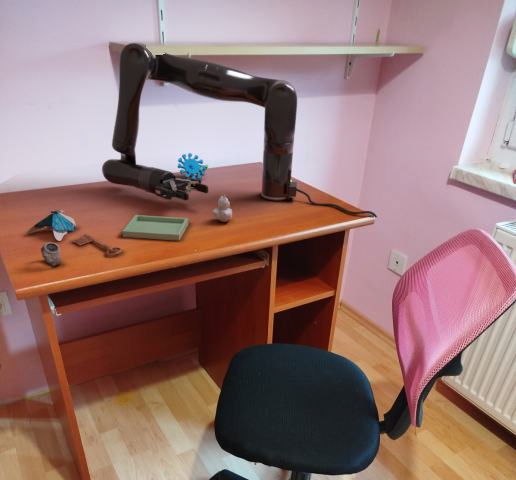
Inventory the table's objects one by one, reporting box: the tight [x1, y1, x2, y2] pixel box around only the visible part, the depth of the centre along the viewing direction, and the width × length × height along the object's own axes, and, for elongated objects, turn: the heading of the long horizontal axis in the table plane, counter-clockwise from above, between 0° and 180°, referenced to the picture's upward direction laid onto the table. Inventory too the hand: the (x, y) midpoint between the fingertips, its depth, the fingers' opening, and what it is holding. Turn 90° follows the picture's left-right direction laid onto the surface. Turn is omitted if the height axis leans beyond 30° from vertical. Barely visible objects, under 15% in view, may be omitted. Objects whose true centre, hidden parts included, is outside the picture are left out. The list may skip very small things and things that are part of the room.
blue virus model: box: [177, 152, 209, 180], centre depth 170 cm, size 11×6×10 cm
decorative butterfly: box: [26, 210, 77, 242], centre depth 126 cm, size 10×6×10 cm
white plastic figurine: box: [211, 193, 233, 223], centre depth 135 cm, size 5×7×8 cm
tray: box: [121, 214, 190, 242], centre depth 130 cm, size 15×12×2 cm
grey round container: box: [40, 241, 62, 267], centre depth 111 cm, size 4×6×5 cm, turn 49°
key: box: [72, 233, 123, 256], centre depth 120 cm, size 6×1×15 cm
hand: (197, 193), depth 138 cm, fingers open, 8 cm apart
